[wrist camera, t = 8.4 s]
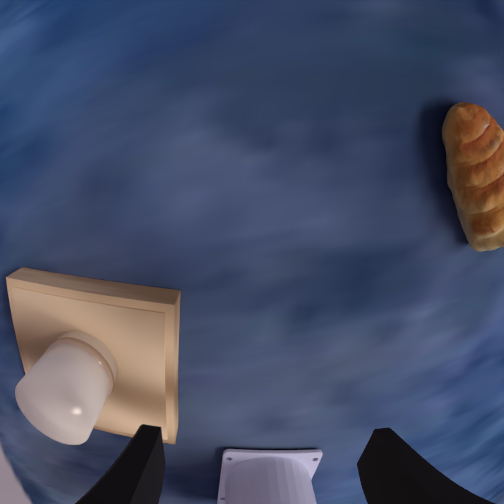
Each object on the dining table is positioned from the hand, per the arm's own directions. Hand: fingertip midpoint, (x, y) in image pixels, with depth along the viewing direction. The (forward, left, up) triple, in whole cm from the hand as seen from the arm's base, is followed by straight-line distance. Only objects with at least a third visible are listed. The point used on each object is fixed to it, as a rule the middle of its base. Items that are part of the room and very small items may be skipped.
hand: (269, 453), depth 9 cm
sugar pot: (-3, +10, -8) cm, 13 cm away
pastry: (+11, -14, -10) cm, 20 cm away
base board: (-4, +10, -10) cm, 15 cm away
